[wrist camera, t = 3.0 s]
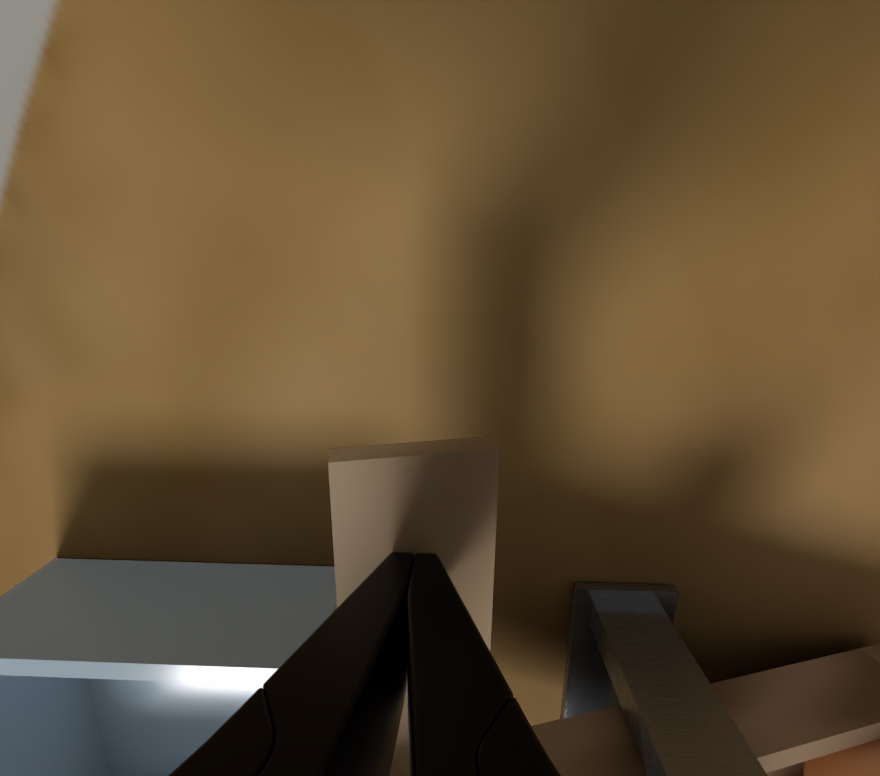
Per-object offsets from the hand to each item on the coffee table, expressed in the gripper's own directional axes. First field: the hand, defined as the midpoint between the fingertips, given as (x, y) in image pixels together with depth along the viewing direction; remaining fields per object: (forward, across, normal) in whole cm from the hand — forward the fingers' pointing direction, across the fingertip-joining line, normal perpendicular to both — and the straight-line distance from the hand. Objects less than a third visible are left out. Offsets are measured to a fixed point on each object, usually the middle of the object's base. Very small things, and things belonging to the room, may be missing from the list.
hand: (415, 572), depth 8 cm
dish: (+5, +7, +8) cm, 12 cm away
